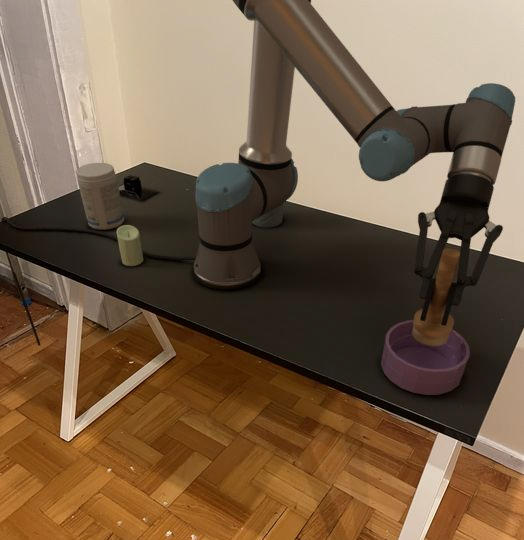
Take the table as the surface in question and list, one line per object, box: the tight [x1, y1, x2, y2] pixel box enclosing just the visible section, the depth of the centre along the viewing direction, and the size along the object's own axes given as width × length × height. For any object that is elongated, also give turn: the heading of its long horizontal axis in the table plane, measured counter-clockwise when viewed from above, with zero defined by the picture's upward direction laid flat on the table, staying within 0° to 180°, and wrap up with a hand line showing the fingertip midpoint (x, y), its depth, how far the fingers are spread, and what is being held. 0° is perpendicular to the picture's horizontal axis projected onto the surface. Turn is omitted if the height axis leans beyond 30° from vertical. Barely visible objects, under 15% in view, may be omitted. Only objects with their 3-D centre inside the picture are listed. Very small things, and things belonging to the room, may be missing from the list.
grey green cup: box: [252, 203, 285, 228], centre depth 137 cm, size 10×10×12 cm
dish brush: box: [412, 247, 460, 346], centre depth 84 cm, size 6×6×16 cm
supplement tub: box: [75, 162, 125, 231], centre depth 135 cm, size 10×10×15 cm
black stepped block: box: [118, 174, 158, 202], centre depth 154 cm, size 12×7×5 cm, turn 60°
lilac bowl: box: [380, 319, 471, 396], centre depth 92 cm, size 14×14×6 cm
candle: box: [116, 224, 144, 267], centre depth 121 cm, size 5×5×8 cm
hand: (433, 321), depth 83 cm, fingers closed on dish brush, 3 cm apart
